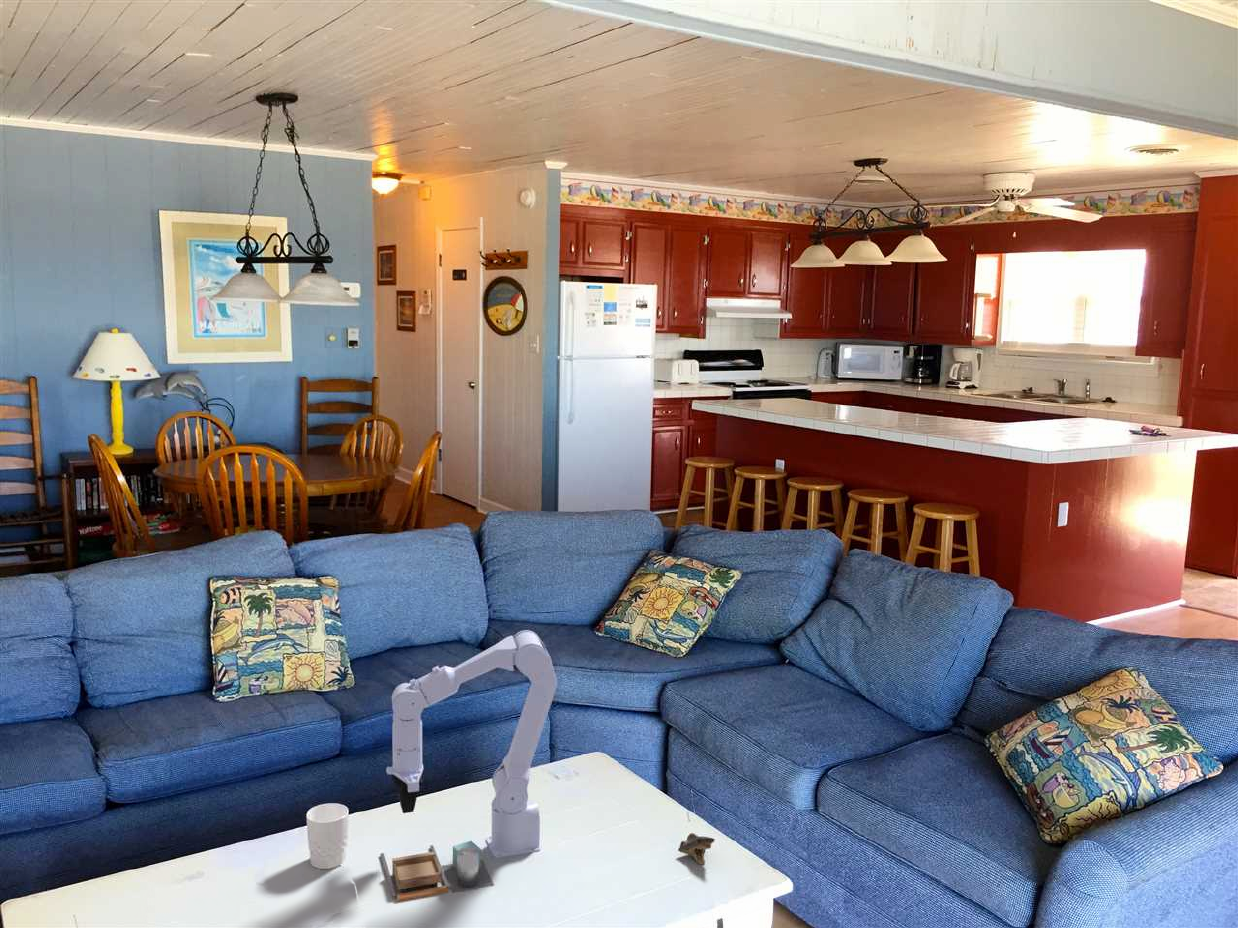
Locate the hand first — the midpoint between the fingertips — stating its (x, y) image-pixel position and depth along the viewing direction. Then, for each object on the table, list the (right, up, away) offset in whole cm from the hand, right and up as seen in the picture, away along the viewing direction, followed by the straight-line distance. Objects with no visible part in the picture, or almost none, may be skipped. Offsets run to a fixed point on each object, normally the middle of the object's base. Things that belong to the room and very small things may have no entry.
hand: (407, 810), depth 200 cm
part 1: (+12, -10, -3) cm, 16 cm away
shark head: (+58, -11, +2) cm, 59 cm away
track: (+2, -10, -5) cm, 12 cm away
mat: (+13, -11, -6) cm, 18 cm away
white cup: (-15, -10, -1) cm, 18 cm away
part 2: (+13, -11, -9) cm, 19 cm away
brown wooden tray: (+4, -11, -9) cm, 14 cm away
